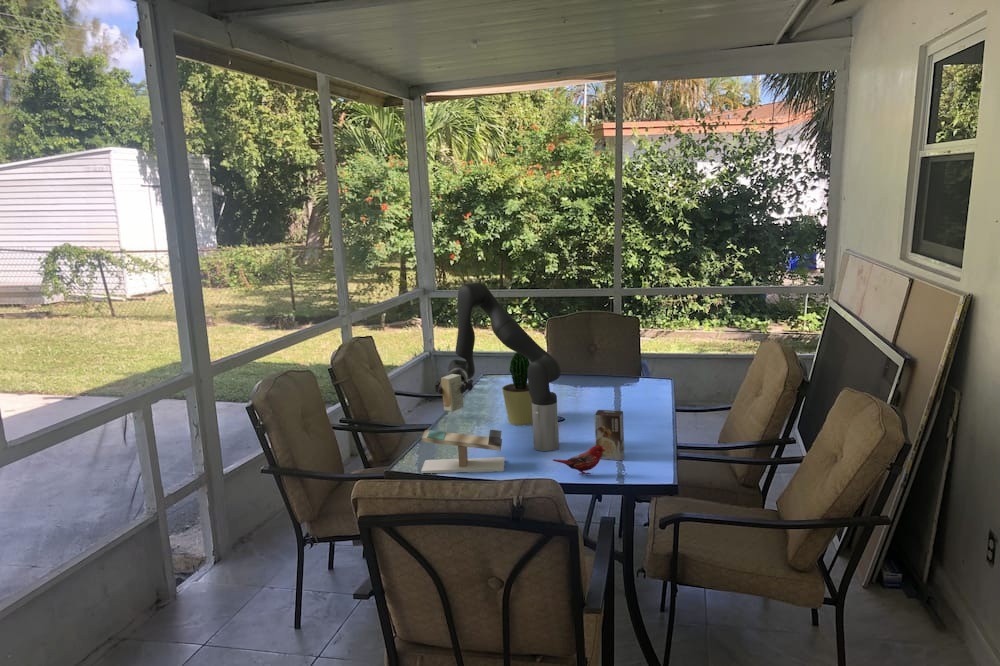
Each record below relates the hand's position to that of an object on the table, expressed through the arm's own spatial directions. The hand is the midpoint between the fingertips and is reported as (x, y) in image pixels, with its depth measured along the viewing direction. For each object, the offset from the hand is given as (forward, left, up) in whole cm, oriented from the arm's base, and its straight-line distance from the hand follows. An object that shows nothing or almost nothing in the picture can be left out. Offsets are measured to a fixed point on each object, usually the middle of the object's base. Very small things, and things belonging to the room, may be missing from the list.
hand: (451, 391), depth 237 cm
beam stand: (-4, +10, -25) cm, 27 cm away
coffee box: (-55, +5, -25) cm, 60 cm away
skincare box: (0, -2, -7) cm, 8 cm away
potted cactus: (-24, -39, -25) cm, 52 cm away
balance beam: (-4, +10, -16) cm, 19 cm away
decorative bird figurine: (-43, +21, -25) cm, 54 cm away
